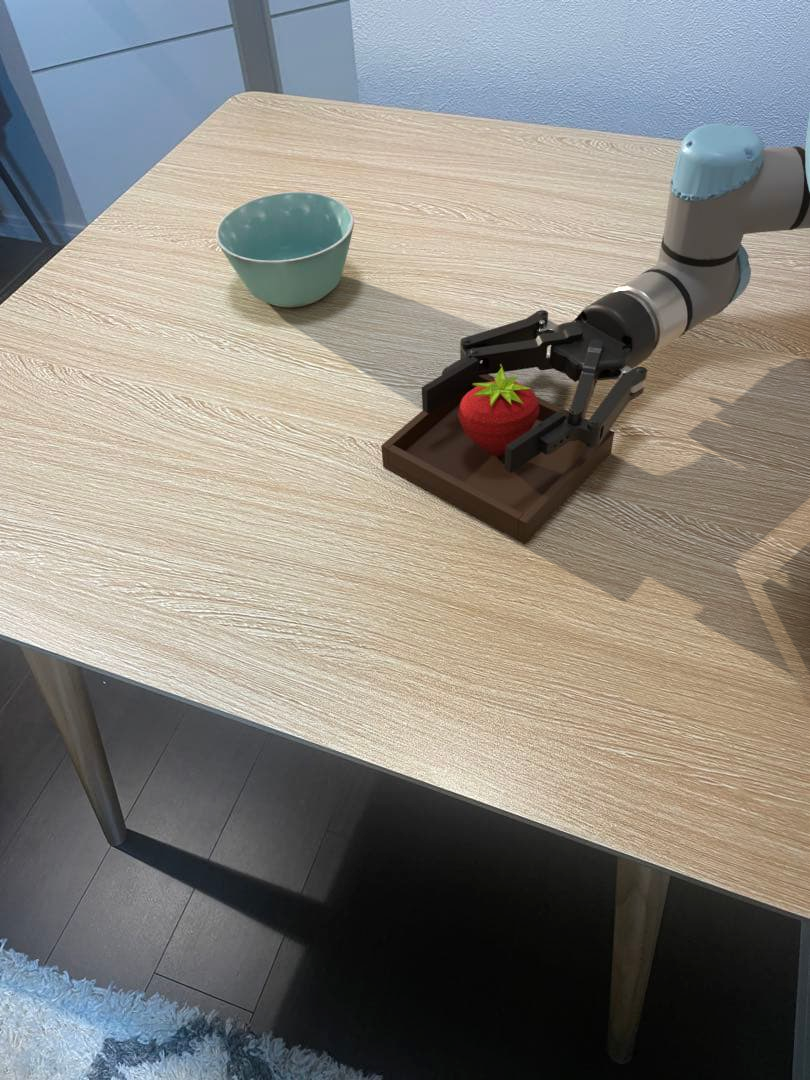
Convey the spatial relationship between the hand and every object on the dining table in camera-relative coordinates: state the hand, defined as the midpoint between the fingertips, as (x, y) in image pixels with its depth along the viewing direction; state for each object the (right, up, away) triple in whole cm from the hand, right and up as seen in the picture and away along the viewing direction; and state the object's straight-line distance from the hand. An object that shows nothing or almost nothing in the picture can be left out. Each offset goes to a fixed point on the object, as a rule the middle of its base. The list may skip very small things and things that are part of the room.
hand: (464, 429), depth 82 cm
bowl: (-19, +20, +28) cm, 40 cm away
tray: (+4, -2, +7) cm, 8 cm away
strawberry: (+4, -2, +6) cm, 7 cm away
